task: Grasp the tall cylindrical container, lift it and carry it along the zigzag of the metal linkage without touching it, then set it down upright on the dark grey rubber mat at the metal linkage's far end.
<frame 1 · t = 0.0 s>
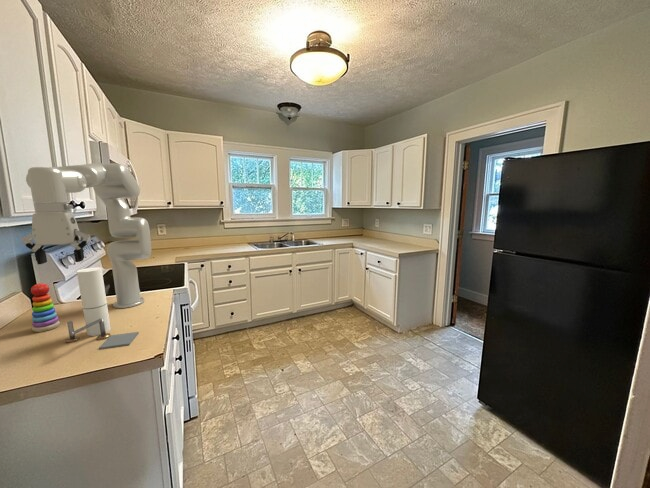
hand: (61, 262, 87), 31 cm above the worktop, tool pointing down, fingers open, 9 cm apart
mat: (119, 340, 99), on the worktop
metal linkage: (85, 344, 97), on the worktop
stacking toy: (46, 328, 109), on the worktop
cylindrical container: (99, 331, 106), on the worktop
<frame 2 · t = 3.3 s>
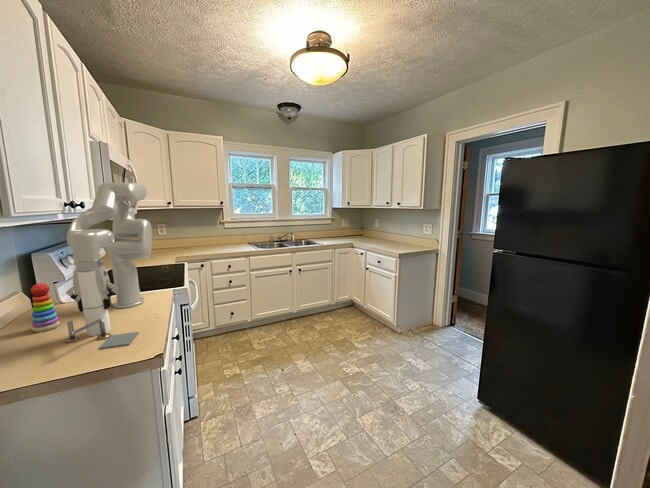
hand: (95, 308, 105), 9 cm above the worktop, tool pointing down, fingers closed on cylindrical container, 7 cm apart
cylindrical container: (99, 331, 106), on the worktop, touching gripper
everything else where it was.
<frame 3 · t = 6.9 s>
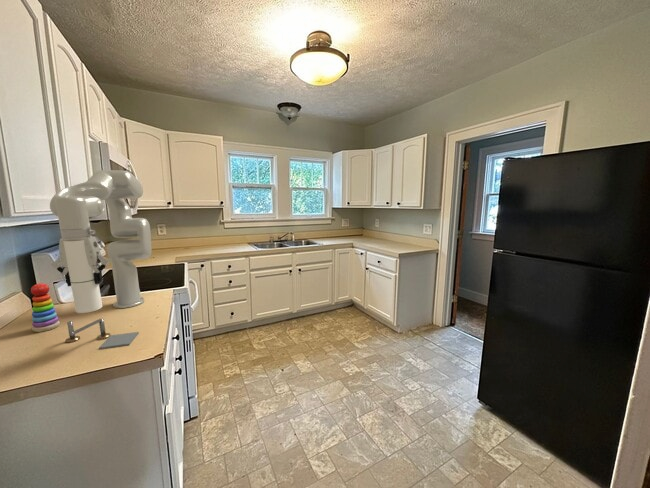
hand: (85, 283, 94), 22 cm above the worktop, tool pointing down, fingers closed on cylindrical container, 7 cm apart
cylindrical container: (89, 309, 96), point 13 cm above the worktop, touching gripper
everything else where it was.
when the fingers open (11 cm above the worktop, at t = 10.8 s): cylindrical container stays where it is, resting on mat.
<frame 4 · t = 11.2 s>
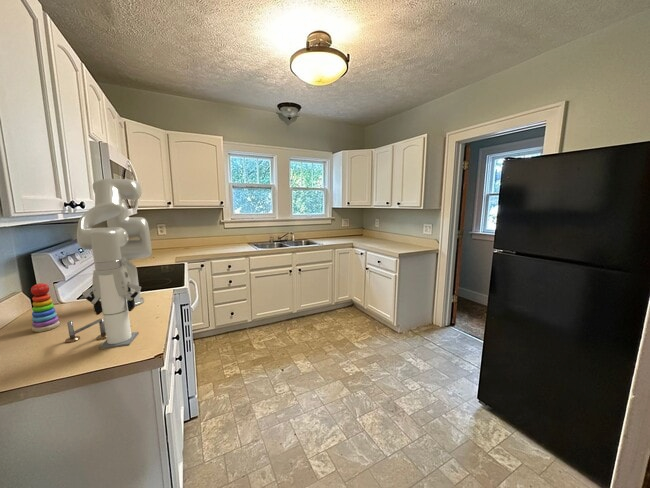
hand: (115, 311, 97), 11 cm above the worktop, tool pointing down, fingers open, 9 cm apart
cylindrical container: (119, 339, 99), resting on mat
everything else where it was.
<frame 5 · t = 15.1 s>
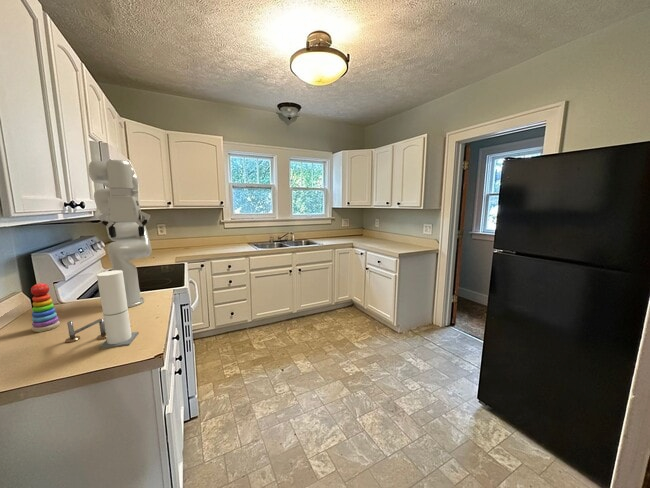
hand: (127, 236, 108), 36 cm above the worktop, tool pointing down, fingers open, 9 cm apart
nothing on the worktop moved.
at the end: cylindrical container 0.2 cm from the mat (horizontally); cylindrical container tilted 0°; cylindrical container touching mat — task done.
